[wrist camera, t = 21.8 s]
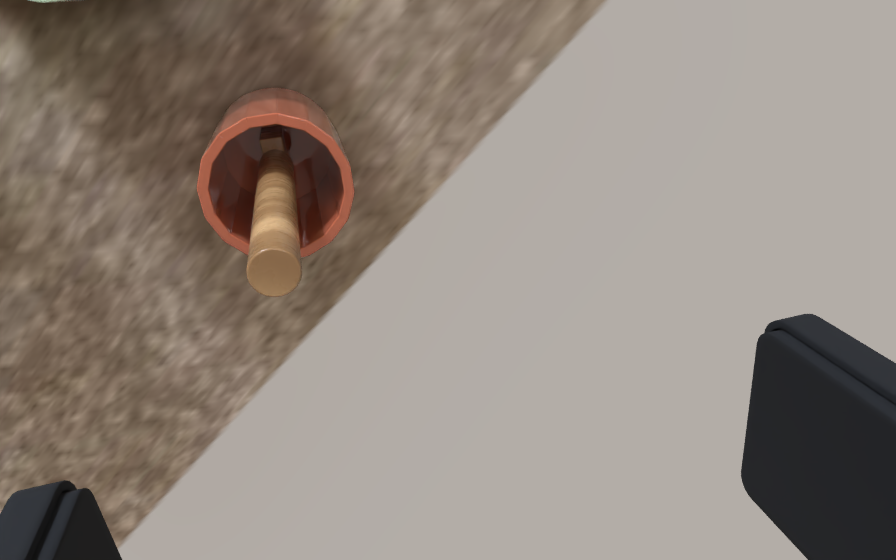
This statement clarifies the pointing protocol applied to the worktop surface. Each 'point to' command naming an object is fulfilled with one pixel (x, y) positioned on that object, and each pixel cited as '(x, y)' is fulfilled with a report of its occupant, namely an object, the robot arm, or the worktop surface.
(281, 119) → the crock
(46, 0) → the bowl
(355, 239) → the worktop surface
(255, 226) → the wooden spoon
